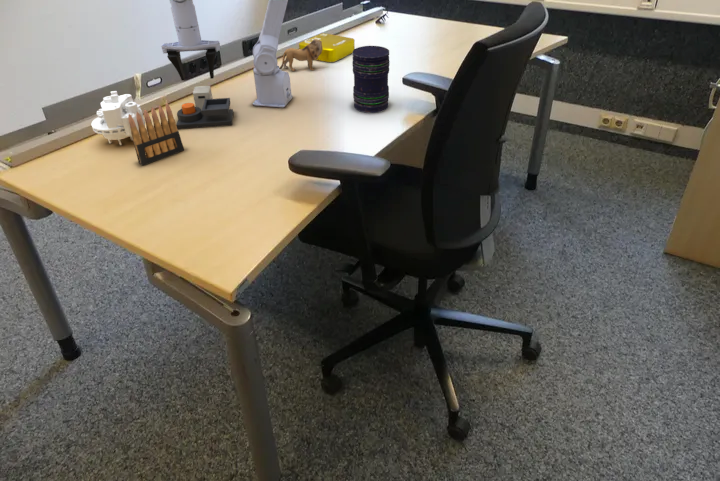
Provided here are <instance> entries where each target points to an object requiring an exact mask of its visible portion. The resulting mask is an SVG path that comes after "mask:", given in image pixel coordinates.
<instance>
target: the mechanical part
mask: <svg viewBox="0 0 720 481" xmlns="http://www.w3.org/2000/svg"><path fill="white" fill-rule="evenodd" d="M99 103H100V107H101V108H99V109H98V110H96V114H95V115H96V118H94V119H93V120H92V121H91V124H90V125H91V128H92V131H93V132H94V133H95V134H98V135H102V136H103V138H104V139H106V140H107V141H108V144H112V141H118V144H119V146H122V145H123V143H122V140H124V139H127V138H129V137H130V141H132V142H134V141H133V138H132V135H131V129H130V125H129V119H128V116H129V114H130V115H131V116H132V118H133V120H134V122H135V125H136V127H137V130H138V132H139V127H138V123H137V118H136V113H137V112H138V113H139V114H140V116H141V118H142V120H143V123H144V126H145V127H146V122H145V118H144V112H143V110H142V107H141V104H140V103H137V102H136V101H134V99H133V96H132V94H130V93H125V94H121V95H119V94H118V91H117V90H112V91H110V95H107V96H104V97H102V101H101V102H99ZM139 134H140V133H139Z"/></svg>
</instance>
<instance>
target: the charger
mask: <svg viewBox="0 0 720 481" xmlns="http://www.w3.org/2000/svg"><path fill="white" fill-rule="evenodd" d="M192 96H193V102H194V106H195V107H199V108H200V109H201V110H202V108H203V104H204V100H205V99H214V98H213V93H212V88H211V85H200V86H194V88H193V91H192Z"/></svg>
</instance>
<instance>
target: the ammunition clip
mask: <svg viewBox="0 0 720 481" xmlns="http://www.w3.org/2000/svg"><path fill="white" fill-rule="evenodd" d="M150 109H151V110H150V111H151V117H150V114H149V113H148V111H147V110H146V109H144V110H143V116H144V120H145V126H144V123H143V120H142V118H141V116H140V114H139V113H138V112H137V113H136V118H137V123H138V127H139V132H138V130H137V127H136V125H135V122H134V120H133V118H132V116H131V115H130V114H129V116H128V119H129V125H130V129H131V135H132V138H133V141H132V142H133V145H134V146H133V147H134V150H135V154H136V158H137V161H138V164H139V165H141V166H145V165H149V164H151V163H153V162H157V161H159V160H162V159H164V158H167V157H170V156H173V155H176V154H178V153H181V152H184V151H185V148H184V145H183V140H182V138H181V134H180V133H179V129H177V126H176V124H177V121H176V119H175V117H174V115H173V111H172V108H171V106H170V104H169V103H168V102H166V103H165V111H164V109H163V106H162V105H161V104H158V113H157V111H156V109H155V108H154V106H153V107H151V108H150ZM165 113H166V114H165ZM139 133H140V134H139Z"/></svg>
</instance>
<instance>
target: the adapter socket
mask: <svg viewBox="0 0 720 481" xmlns="http://www.w3.org/2000/svg"><path fill="white" fill-rule="evenodd" d="M229 109H231V98H230V97H221V98H220V97H219V98H213V99H205V100H204V104H203V108H202V114H203V116H209V115H223V114H229Z"/></svg>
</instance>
